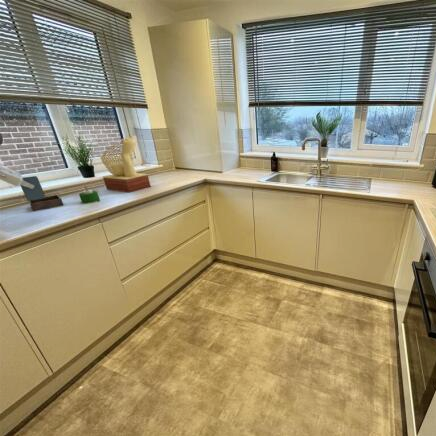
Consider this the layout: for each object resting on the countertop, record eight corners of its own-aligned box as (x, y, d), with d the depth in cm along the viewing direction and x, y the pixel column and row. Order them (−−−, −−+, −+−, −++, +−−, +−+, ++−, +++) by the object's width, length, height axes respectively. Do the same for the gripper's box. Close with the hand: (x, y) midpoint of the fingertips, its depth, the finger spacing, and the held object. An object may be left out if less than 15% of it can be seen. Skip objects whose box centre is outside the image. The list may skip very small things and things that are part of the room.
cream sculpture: (152, 186, 171) (139, 135, 158) (128, 193, 156) (112, 136, 143) (129, 184, 180) (115, 135, 167) (104, 190, 165) (86, 136, 152)
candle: (82, 201, 141) (76, 185, 137) (99, 198, 145) (94, 182, 142) (81, 205, 135) (75, 187, 131) (100, 202, 139) (94, 185, 135)
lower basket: (33, 212, 125) (29, 204, 123) (31, 207, 132) (27, 199, 131) (64, 206, 134) (61, 198, 132) (60, 202, 141) (57, 194, 139)
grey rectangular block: (27, 201, 112) (17, 180, 108) (26, 198, 116) (17, 178, 112) (46, 197, 116) (37, 177, 113) (44, 195, 120) (36, 176, 117)
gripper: (-4, 165, 98) (39, 183, 109) (-3, 160, 111) (35, 177, 121) (-15, 177, 97) (29, 195, 107) (-13, 172, 109) (27, 188, 120)
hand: (33, 186), depth 114 cm, fingers closed on grey rectangular block, 6 cm apart
